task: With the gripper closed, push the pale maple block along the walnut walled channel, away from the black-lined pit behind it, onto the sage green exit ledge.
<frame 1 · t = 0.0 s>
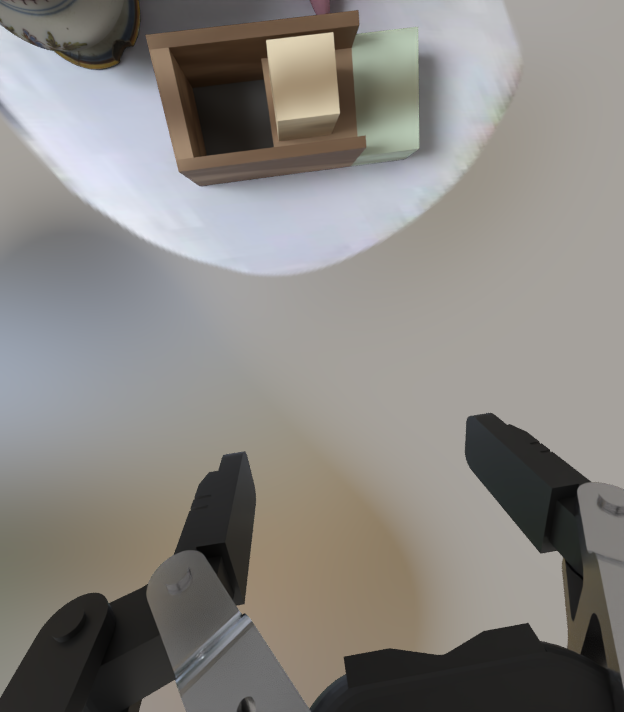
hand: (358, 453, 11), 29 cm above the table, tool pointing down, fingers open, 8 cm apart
maple block: (301, 105, 28), point 4 cm above the table, touching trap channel
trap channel: (280, 124, 32), on the table
apothecary jar: (84, 2, 28), on the table
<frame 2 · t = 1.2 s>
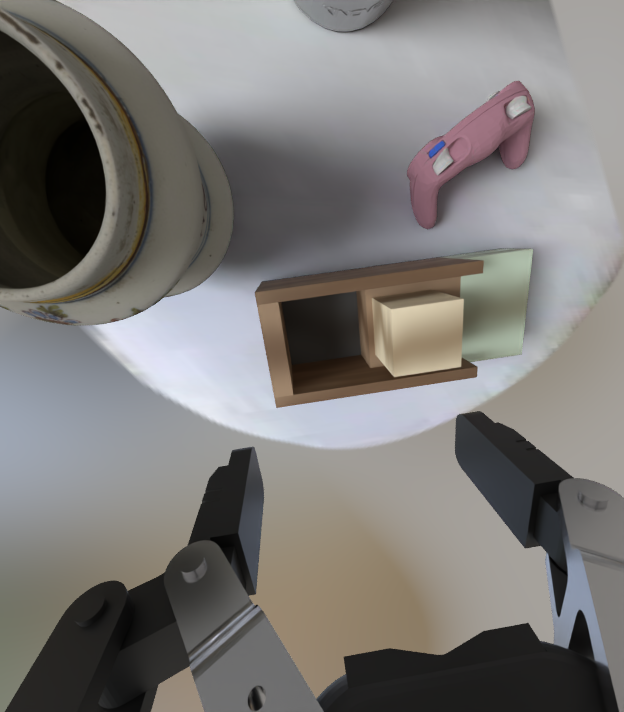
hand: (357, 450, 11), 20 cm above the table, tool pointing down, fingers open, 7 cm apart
video game controller: (451, 169, 27), on the table
maple block: (402, 322, 26), point 4 cm above the table, touching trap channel
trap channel: (367, 316, 30), on the table
apothecary jar: (171, 215, 26), on the table
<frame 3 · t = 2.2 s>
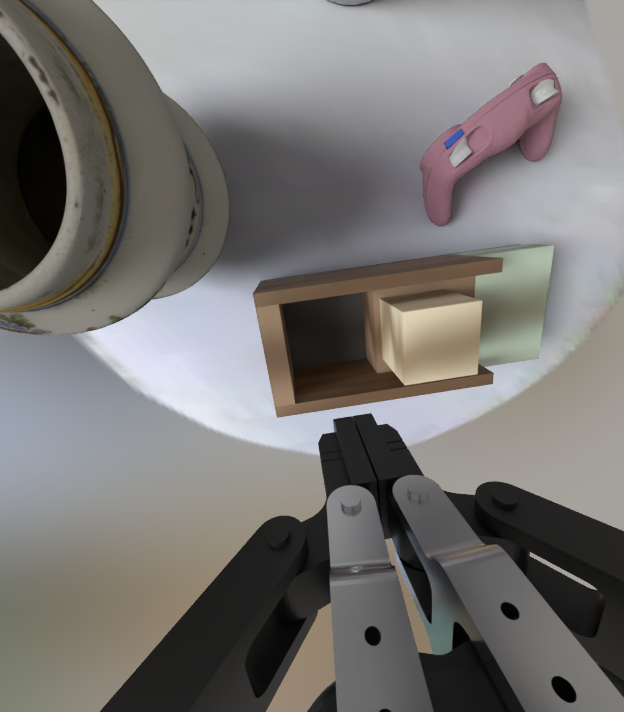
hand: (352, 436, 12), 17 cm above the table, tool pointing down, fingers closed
video game controller: (466, 161, 25), on the table
maple block: (412, 325, 25), point 4 cm above the table, touching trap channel
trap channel: (373, 317, 28), on the table
apothecary jar: (162, 209, 24), on the table
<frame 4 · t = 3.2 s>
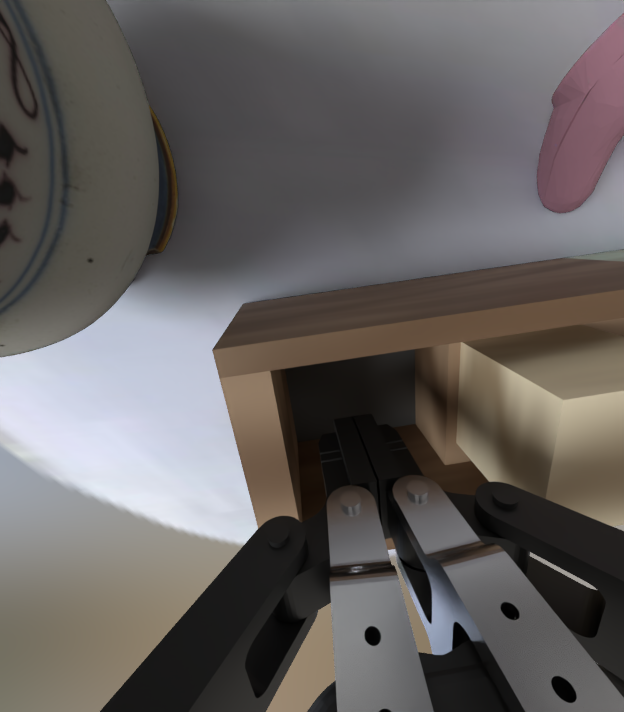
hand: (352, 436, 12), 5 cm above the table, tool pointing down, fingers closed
video game controller: (611, 97, 14), on the table
maple block: (513, 386, 14), point 4 cm above the table, touching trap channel
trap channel: (429, 360, 17), on the table
apothecary jar: (60, 175, 13), on the table
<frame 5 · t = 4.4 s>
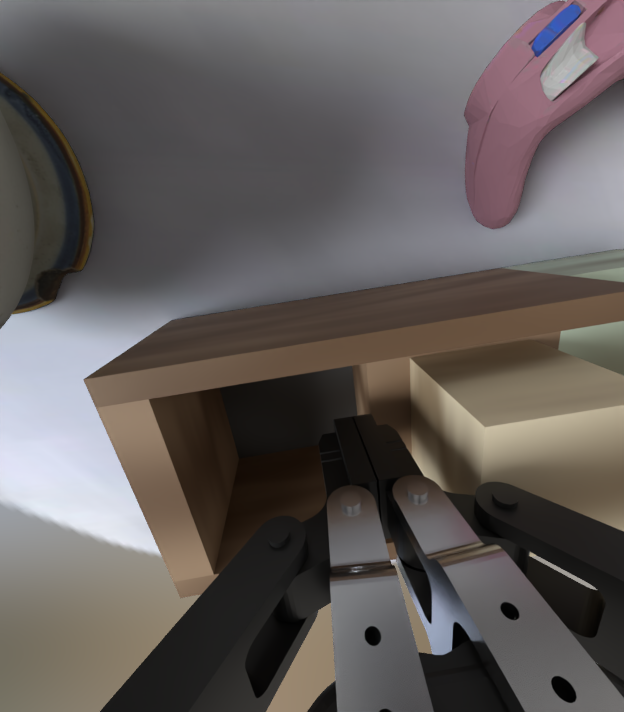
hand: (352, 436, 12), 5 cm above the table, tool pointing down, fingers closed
video game controller: (540, 110, 14), on the table
maple block: (467, 402, 13), point 4 cm above the table, touching gripper
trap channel: (370, 374, 17), on the table
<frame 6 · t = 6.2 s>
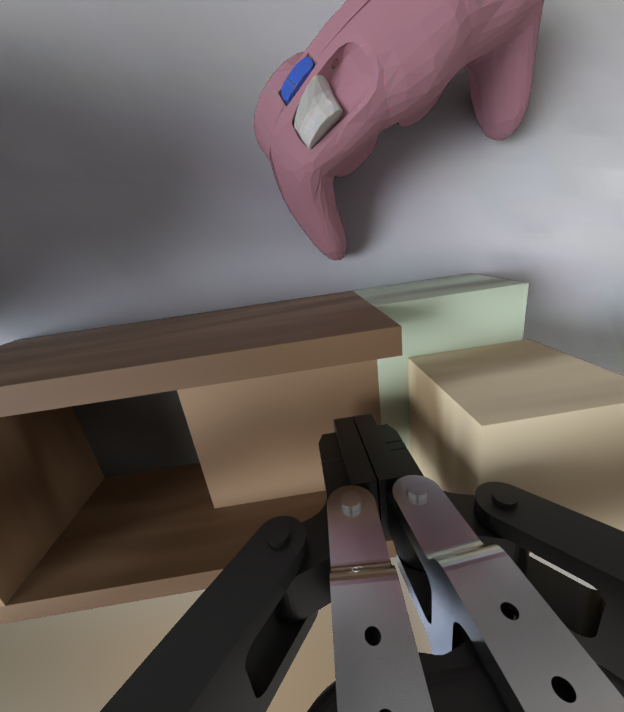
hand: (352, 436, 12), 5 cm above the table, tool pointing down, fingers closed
video game controller: (378, 143, 14), on the table
maple block: (465, 402, 13), point 4 cm above the table, touching gripper, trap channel
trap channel: (232, 394, 17), on the table
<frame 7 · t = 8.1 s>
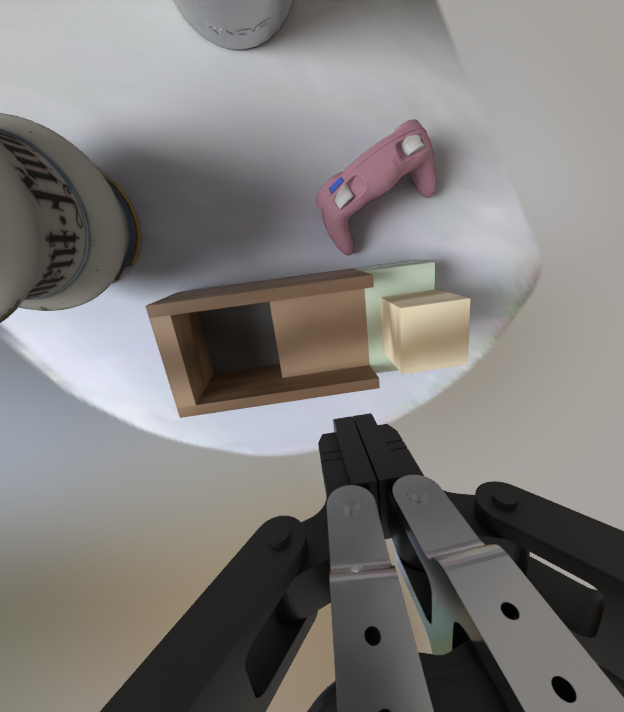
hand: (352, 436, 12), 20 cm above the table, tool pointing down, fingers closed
video game controller: (369, 197, 28), on the table
maple block: (409, 321, 27), point 4 cm above the table, touching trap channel
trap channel: (287, 326, 31), on the table
apothecary jar: (82, 227, 27), on the table
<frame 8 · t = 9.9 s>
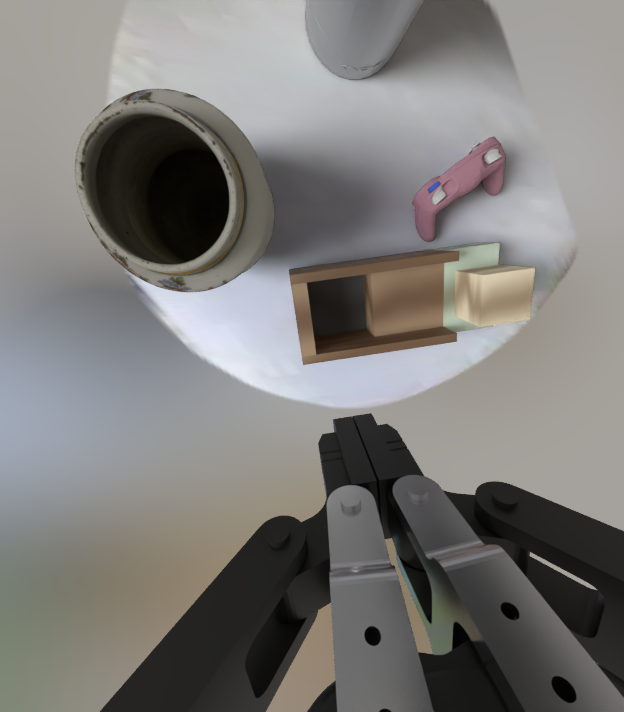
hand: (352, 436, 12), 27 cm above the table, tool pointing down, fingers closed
video game controller: (445, 196, 35), on the table
maple block: (476, 290, 34), point 4 cm above the table, touching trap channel
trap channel: (371, 297, 38), on the table
apothecary jar: (220, 217, 34), on the table
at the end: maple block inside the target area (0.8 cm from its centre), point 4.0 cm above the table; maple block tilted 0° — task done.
